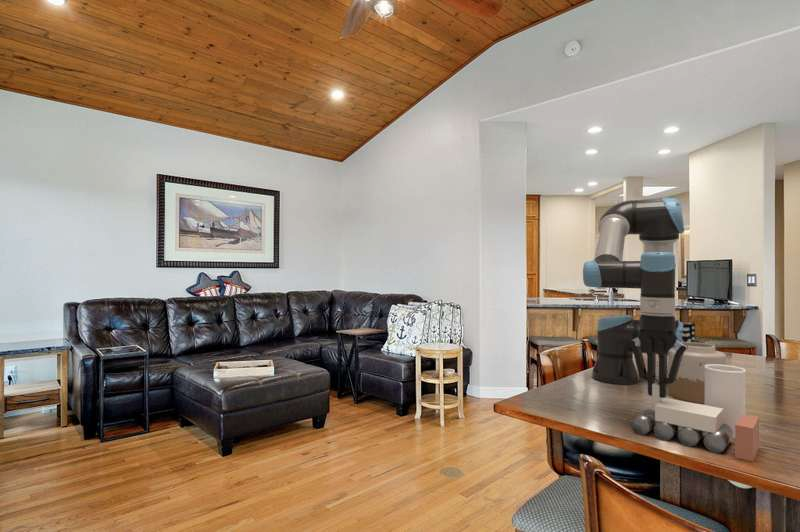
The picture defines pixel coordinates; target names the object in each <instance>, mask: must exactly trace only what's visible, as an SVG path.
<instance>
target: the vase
mask: <svg viewBox="0 0 800 532" xmlns="http://www.w3.org/2000/svg"><path fill="white" fill-rule="evenodd" d="M680 343H682V344H683V345H687V346H688V349H687V350H686V351H685V352H684V354H683V356H682V360H681V363H680V367H679V370H678V373H677V377H676V380H675V382H673V383H672V384H667V394H668V395H669V396H670V397H672V398H674V399H675V400H679V401H684V402H690V403H695V404H701V405H705V365H708V364H719V365H727V355H726V353H725V352H722V351H719V350H716V346H715V344H711V343H704V342H696V341H695V342H680ZM675 353H676V350H675V348H671V349H670V350H669V351H668V356H667V377H668V376H669V372H670V369H671V365H672V362H673V359H674V355H675Z"/></svg>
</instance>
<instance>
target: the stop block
mask: <svg viewBox="0 0 800 532" xmlns="http://www.w3.org/2000/svg"><path fill="white" fill-rule="evenodd" d="M734 440H735V442H734V446H735V447H734V452H735V453H734V458H735V459H739V460H744V461H747V462H752V463H753V462H754V460H755V458H756V456H757V454H758V451H759V449H760V417H759V416H755V415H748V414H746V415H744V414H742V416H741V417H740V419H739V420H738V421H737V423H736V424H735V439H734Z"/></svg>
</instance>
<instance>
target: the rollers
mask: <svg viewBox="0 0 800 532" xmlns="http://www.w3.org/2000/svg"><path fill="white" fill-rule="evenodd" d="M631 429H632V430H633V431H634V432H635V433H636V434H637V435H639V436H644V435H645V436H646V434H648V433H649V432H651V431H652V430H653V433H654V435H655V436H656V437H657V438H658V439H659V440H662V441H669V440H671V439H672V438H673V437H674V436H676V435H677V438H678V440H679V442H680V443H681V444H683V445H684V446H687V447H695V446H696V445H697V444H698V443H699V442H700V441H701V439H702V438H703V444H704V446H705V448H706V449H707V450H708V451H710V452H712V453H715V454H720V453H722V452H724V451H725V449H726V448H727V446H728V445H729V444H730V442H731V441H732V439H733V438H732V437H733V430H732V429H731V428H730V427H729V426H728V425H726V424H724V423H723V424H722V426H721V427H720V428H719V430H718V431H717V432H716V433H711V432H707V431H702V430H697V429H693V428H688V427H684V426H679V425H674V424H670V423H665V422H661V421H656V420H655V411H653V410H652V408H647V409H646V410H644V411H643V412H641V413H640V414H639V415H637V416H636V417H635V418H633V419H632V421H631Z"/></svg>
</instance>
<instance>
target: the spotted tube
mask: <svg viewBox="0 0 800 532" xmlns="http://www.w3.org/2000/svg"><path fill="white" fill-rule="evenodd" d="M681 322H682V323H683V332H682V341H681V342H696V323H694V322H687V321H681Z"/></svg>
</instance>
